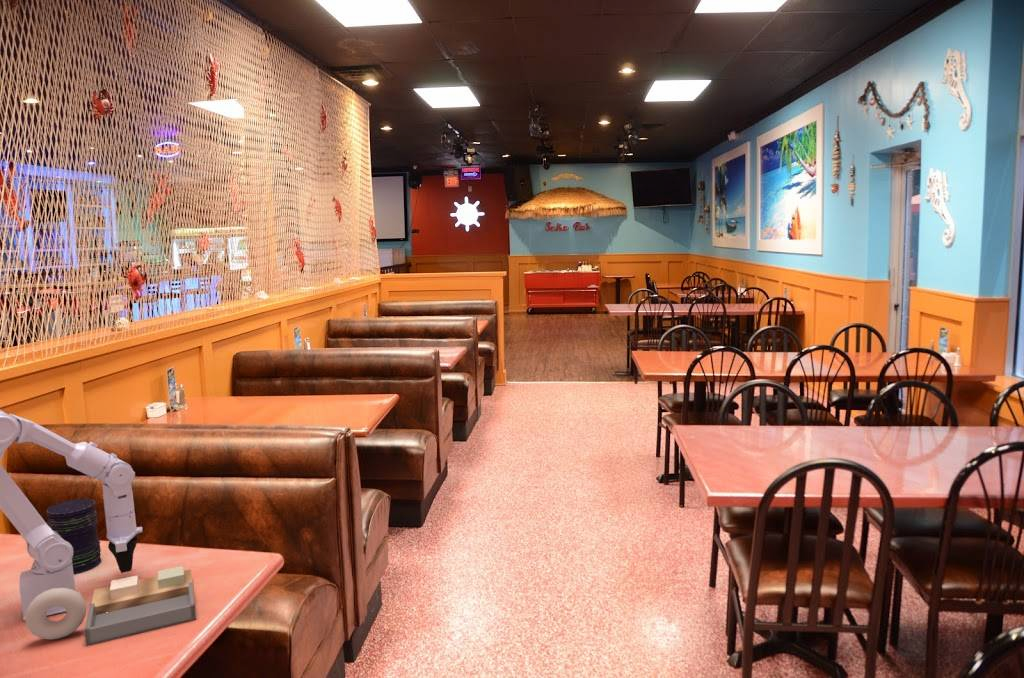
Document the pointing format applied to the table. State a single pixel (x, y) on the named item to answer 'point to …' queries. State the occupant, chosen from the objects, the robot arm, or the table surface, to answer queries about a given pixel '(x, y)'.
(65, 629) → the donut
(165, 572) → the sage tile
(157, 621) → the box
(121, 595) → the cream tile
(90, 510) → the storage jar
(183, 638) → the table surface
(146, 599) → the oak board
